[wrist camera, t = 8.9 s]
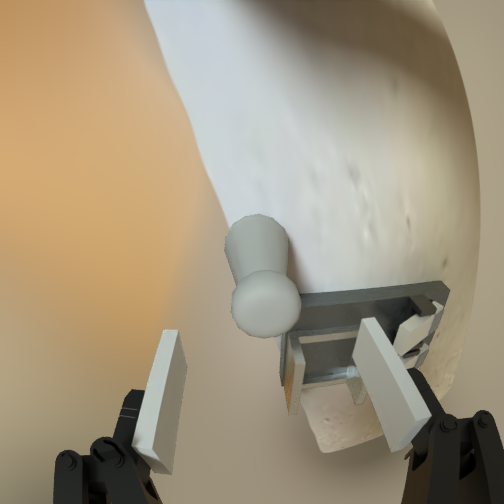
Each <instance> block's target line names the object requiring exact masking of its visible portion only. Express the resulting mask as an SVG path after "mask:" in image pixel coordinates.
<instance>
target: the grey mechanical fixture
mask: <svg viewBox="0 0 504 504" xmlns="http://www.w3.org/2000/svg"><path fill="white" fill-rule="evenodd" d="M449 292H450V289H449V288H448V287H447V286H446V285H445V284H444V283H443V282H441V281H433V282H425V283H417V284H408V285H399V286H390V287H380V288H370V289H359V290H348V291H336V292H323V293H309V294H299V296H300V299H301V312H300V317H299V320H298V321H297V322H296V323H295V325H294V326H293V327H292V328H291V329H290V330H289V331H287V332H285V333H283V334H282V340H281V357H280V378H281V385H282V386H284V390H285V396H286V402H287V408H288V414H289V415H296V414H297V412H298V406H299V401H300V395H301V389H307V388H315V387H323V386H330V385H336V384H343V383H347V384H348V387H349V390H350V392H351V395H352V398H353V400H354V403H355V405H359V404H363V401H364V399H365V397H366V395H367V390H366V387H365V385H364V383H363V380H362V378H361V376H360V373H359V371H358V369H357V366H356V364H355V362H354V359H353V357H352V355H353V351H354V347H355V344H356V340H357V336H358V332H359V328H360V324H361V320H362V319H364V318H372V317H375V319H376V320H377V322H378V323H379V325H380V327H381V328H382V330H383V331H384V333H385V335H386V336H387V338H388V339H389V341H390V343H391V344H392V346H393V344H394V341H395V338H396V335H397V332H398V329H399V326H400V324H402V323H403V322H405V321H406V320H408V319H409V318H411V317H412V316H414V315H415V314H418V315H419V317H424V316H429V315H434V314H436V311H437V308H436V306H435V305H434V304H433V303H432V302H433V301H436V302H437V303H439V304H441V305H442V306H444V307H445V304H446V301H447V298H448V295H449ZM444 307H443V310H444ZM434 333H435V331H433V332H432V333H431V334H429V335H428V336H426V337H425V338H424V339H423V340H421V341H420V342H419V343H418V344H417V345H415V346H414V347H413V348H412V349H410V350H409V351H408V352H406V353H405V354H404V355H402V356H403V358H404V359H405V358H409V357H413V356H417V355H419V353H420V351H421V350H420V349H419V348H422V346H423V344H424V343H425V344H427V345H428V346H429V345H430V342H431V340H432V338H433V335H434ZM398 356H399V354H398Z"/></svg>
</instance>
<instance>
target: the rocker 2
mask: <svg viewBox="0 0 504 504" xmlns="http://www.w3.org/2000/svg"><path fill="white" fill-rule="evenodd" d="M428 347H429V346H428V345H427V344H425V343H424V344H423V346H422V348H419V349H420V350H421V351H420V353H419V355H417V356H413V357H409V358H405V359H404V358H403V356H400V355H399V358H400V359H401V361H402V363H403V364H404V366H405V368H406V369H409V368H413V367H415V368H416V369H417V368H418V367H419V366H421V365H422V363H423V361H424V359H425V357H426V355H427V353H428V351H429V350H428Z"/></svg>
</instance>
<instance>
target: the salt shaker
mask: <svg viewBox="0 0 504 504" xmlns="http://www.w3.org/2000/svg"><path fill="white" fill-rule="evenodd" d="M288 245H289V241H288V238H287V235H286V232H285V229H284V228H283V227H282V226H281V225H280V224H279V223H278V222H276V221H275V220H274V219H273V218H270V217H267V216H264V215H261V214H256V215H250V216H245V217H243V218H242V219H240V220H238V221H237V222H235V223H234V224H233V225H232V227H231V228H230V230H229V232H228V234H227V235H226V237H225V250H224V251H225V254H226V257H227V259H228V263H229V265H230V268H231V271H232V274H233V277H234V280H235V283H236V288H235V290H234V291H233V294H232V304H231V313H232V317H233V319H234V321H235V322H236V324H237V326H238V328H239V329H241V330H242V331H244V332H245V333H247V334H248V335H249V336H254V337H259V338H270V337H277V336H279V335H281V334H283V333H285V332H287V331H289V330H290V329H291V328H292V327H293V326H294V325H295V323H296V322H297V321H298V320H299V317H300V312H301V299H300V296H299V293H298V290H297V287H296V285H295V283H294V282H292V281H291V280H290V279H289V278H288V277H287V264H288Z"/></svg>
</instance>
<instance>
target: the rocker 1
mask: <svg viewBox="0 0 504 504" xmlns="http://www.w3.org/2000/svg"><path fill="white" fill-rule="evenodd" d="M432 303H433V304H434V305H435V306H436V308H437V311H436V314H434V315H429V316H424V317H419V315H418V314H415V315H414V316H412V317H411V318H409V319H408V320H406V321H405V322H403V323H402V324H400V326H399V329H398V332H397V335H396V338H395V341H394V344H393V348H394V349H395V351H396V353H397V354H399V355H400V356H402V355H404V354H405V353H406V352H408V351H409V350H410V349H412V348H413V347H414V346H415V345H417V344H418V343H419V342H420V341H421V340H423V339H424V338H425V337H426V336H428V335H429V334H431V333H432V332H433V331H435V330H436V329H437V327H438V325H439V322H440V319H441V317H442V314H443V312H444V310H443V307H444V306H442V305H441V304H439V303H437V302H436V301H433V302H432Z"/></svg>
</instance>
